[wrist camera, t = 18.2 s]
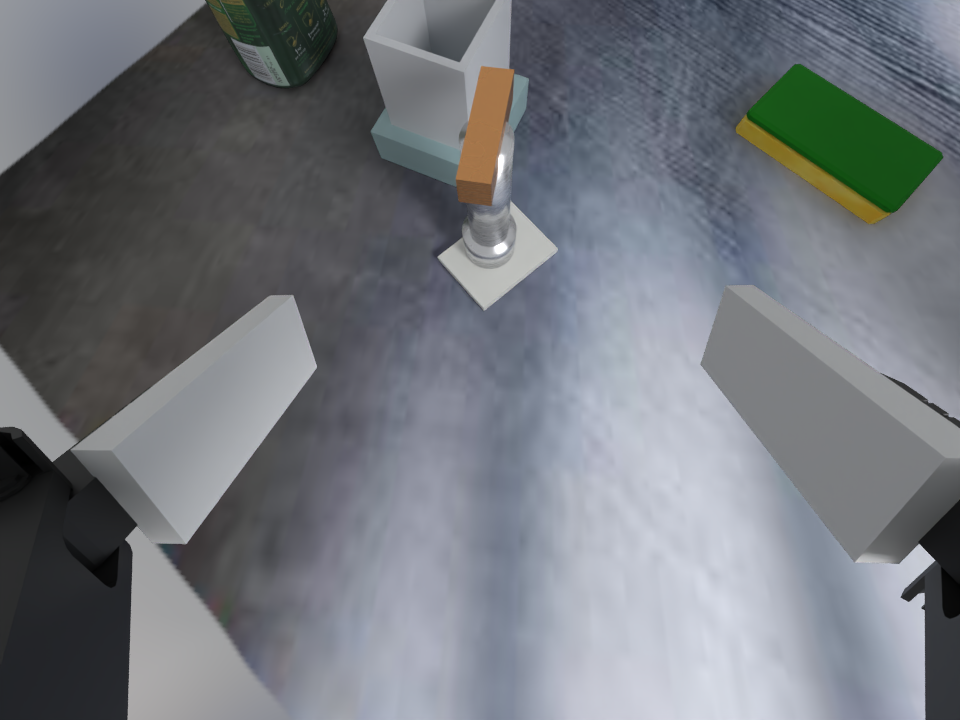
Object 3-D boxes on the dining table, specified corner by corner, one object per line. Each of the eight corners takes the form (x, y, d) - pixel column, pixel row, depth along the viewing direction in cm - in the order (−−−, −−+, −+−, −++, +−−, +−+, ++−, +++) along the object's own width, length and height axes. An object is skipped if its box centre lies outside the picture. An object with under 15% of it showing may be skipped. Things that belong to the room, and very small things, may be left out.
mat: (509, 204, 33) (510, 200, 33) (556, 252, 32) (557, 248, 31) (438, 260, 32) (437, 256, 32) (483, 310, 31) (483, 308, 31)
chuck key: (472, 205, 33) (458, 63, 20) (521, 212, 32) (536, 72, 20) (456, 280, 31) (432, 176, 19) (507, 288, 31) (515, 187, 19)
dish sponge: (778, 86, 35) (798, 60, 33) (915, 174, 33) (947, 153, 30) (730, 134, 34) (747, 111, 32) (866, 229, 32) (896, 211, 30)
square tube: (430, 75, 37) (406, -59, 27) (525, 108, 35) (537, -20, 26) (381, 157, 35) (336, 46, 25) (480, 196, 34) (473, 94, 24)
